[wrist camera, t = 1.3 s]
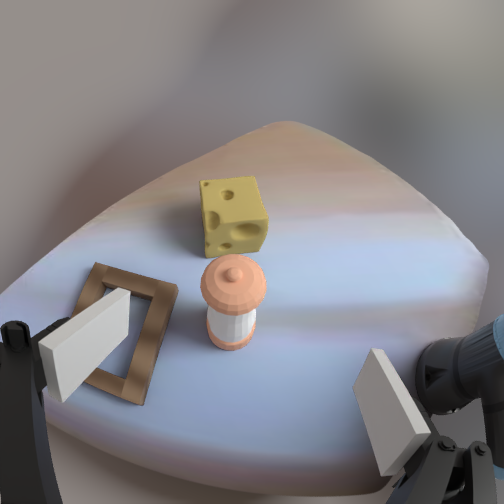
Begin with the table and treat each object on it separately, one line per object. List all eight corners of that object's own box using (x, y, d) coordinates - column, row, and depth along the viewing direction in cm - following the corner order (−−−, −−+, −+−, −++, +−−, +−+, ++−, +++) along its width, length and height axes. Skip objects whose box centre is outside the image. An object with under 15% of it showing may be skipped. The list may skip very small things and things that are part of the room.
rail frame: (143, 405, 36) (138, 404, 34) (60, 369, 37) (53, 366, 35) (178, 291, 47) (176, 284, 45) (99, 268, 48) (95, 262, 45)
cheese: (205, 260, 51) (202, 226, 42) (200, 213, 56) (197, 176, 48) (262, 253, 53) (270, 219, 44) (251, 208, 58) (256, 171, 50)
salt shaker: (203, 345, 43) (188, 297, 26) (212, 303, 46) (207, 235, 30) (249, 354, 42) (265, 313, 26) (256, 312, 46) (275, 248, 30)
